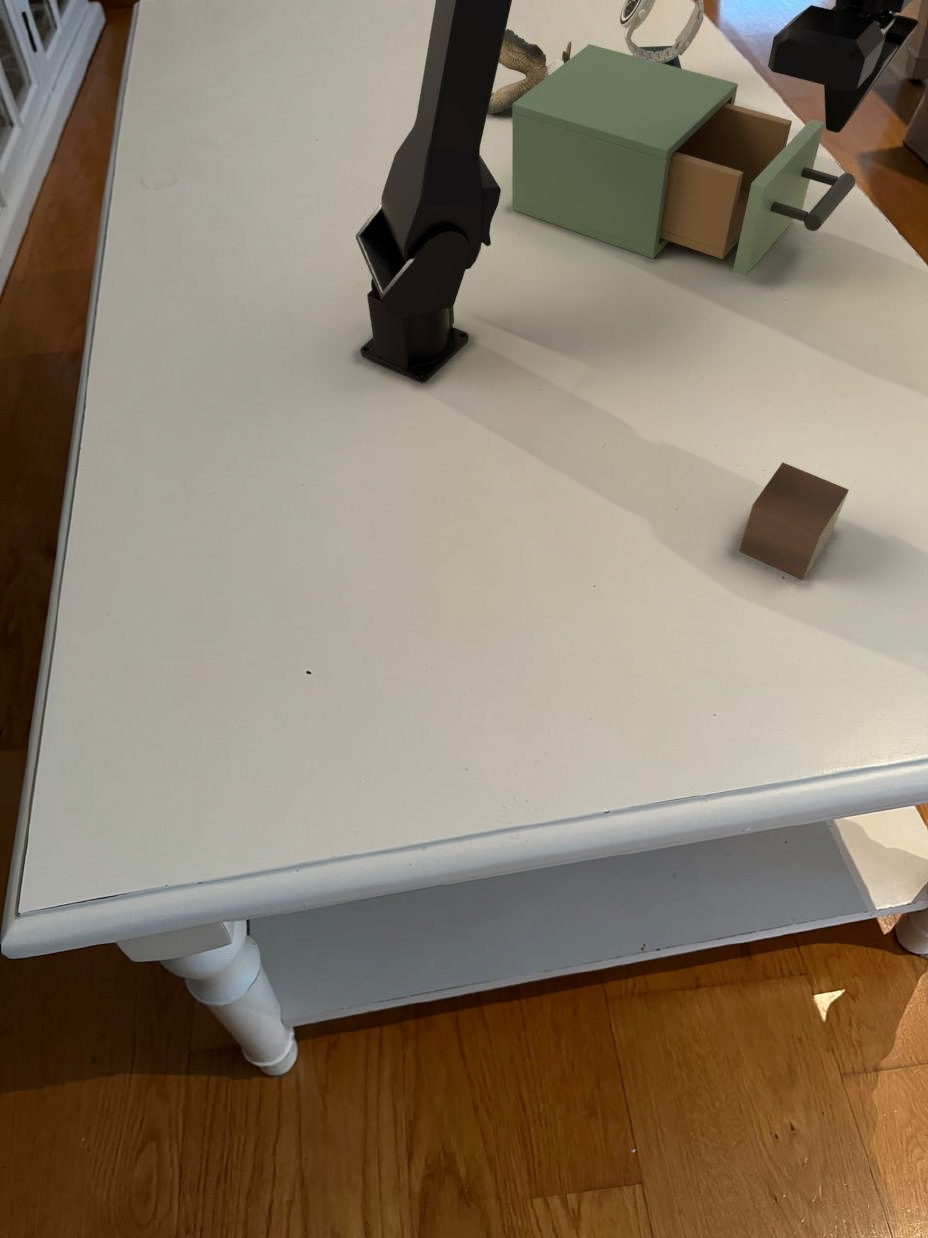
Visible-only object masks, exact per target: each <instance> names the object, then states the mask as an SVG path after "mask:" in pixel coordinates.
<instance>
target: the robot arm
mask: <svg viewBox="0 0 928 1238" xmlns="http://www.w3.org/2000/svg"><path fill="white" fill-rule="evenodd" d="M912 1H913V0H835V2H834V4H835V5H834V6H833V7H831V8H825V7H821V6H817V5H812V4H811V5H809V6H807V7H806V8H805V9H804V10H802V11H801V12H800V13H798V14H797V15H796V16H794V17H793V18H792V19H791V20H790V21H789V22H788V23H787V24H786V25H784V26H783V27H782V28H781V29H780V30H779V31H778V32H777V33H776V34H775V35H774V36H773V39H772V44H771V48H770V54H769V59H768V62H767V63H768V64H767V67H768V68H769V70H770V71H771V72H772V73H776V74H780V75H784V76H786V77H787V76H788V77H791V78H794V79H795V78H796V79H799V80H803V81H806V82H811V83H815V84H819V85H823V90H824V91H823V92H824V117H825V121H824V123H825V129H826V131H828V132H832V133H835V134H839V133H841V131H842V130H843V129H845V127H846V125H847V124H848V122H849V121H850V120H851V118H852V117H853V116H854V114H855V113H856V111H857V110H858V109H859V108H860V106H861V105H862V103H863V101H864V100H865V99H866V98H867V96H868V95H869V93H870V92H871V91H872V89H873V88H874V87H875V86H876V84H877V82H879V80H880V78H881V77H882V75H884V73H885V71H886V70H887V69H888V67H889V66H890V64H891V63H892V62H893V60H894V59H895V58H896V57H897V55H898V53H899V52H900V51H901V49H902V48H903V46H905V44H906V43H907V41H908V40H909V38H910V37H911V36H912V35H913V33H914V32H915V31H916V29H917V28H918V26H919V23H920V22H919V21H918V19H917V18H913V17H909V16H904V15H901V13H902V12H903V11H904V10H905V9H906V8H907V7H908V6H909V5H910V3H911V2H912ZM512 3H513V0H435V3H434V10H433V16H432V20H431V21H432V22H431V28H430V34H429V40H428V44H427V51H426V57H425V63H424V70H423V75H422V82H421V87H420V94H419V100H418V104H417V105H418V106H417V111H416V117H415V119H414V120H415V121H414V124H413V126H412V128H411V130H410V131H409V133H408V134H407V136H406V137H405V139H404V140H403V142H402V143H401V145H400V146H399V148H398V149H397V150H396V152H395V154H394V157H393V160H392V163H391V166H390V168H389V172H388V175H387V178H386V181H385V184H384V187H383V190H382V194H381V199H380V201H381V202H380V203H379V204H378V206H377V207H376V208H375V209H374V210H373V212H372V213H371V215H370V216H369V217H368V219H366V221H365V223H364V224H363V225H362V226H361V228H360V229H359V230H358V231H357V233H356V234H355V240H356V243H357V245H358V247H359V249H360V251H361V254H362V256H363V259H364V261H365V263H366V266H367V269H368V271H369V273H370V275H371V281H370V287H371V288H370V289H371V291H369V292H367V294H366V298H367V305H368V311H369V312H368V313H369V318H370V326H371V333H372V334H371V335H372V338H371V339H369V340H368V341H367V342H366V343H365V344H364V345H362V346H361V348H360V349H359V350H360V351H359V352H360V356H361V357H362V358H364V359H367V360H368V361H372V362H374V363H375V364H378V365H380V366H382V367H385V368H387V369H389V370H391V371H394V372H396V373H398V374H400V375H402V376H405V377H407V378H410V379H412V380H414V381H416V382H419V383H425V382H427V381H429V379H430V378H432V377H433V376H434V375H435V374H436V372H438V371H439V370H440V369H441V368H443V366H444V365H446V363H448V362H449V360H450V359H452V358H453V357H454V356H455V355H456V354H457V353H458V352H459V351H460V350H461V349H462V348H463V347H464V346H465V345H466V344H468V343H469V341H470V336H469V333H468V332H467V331H464V330H461V329H460V328H456V327H454V324H455V316H454V315H455V312H454V311H455V310H454V306H455V303H456V300H457V297H458V294H459V291H460V288H461V286H462V282H463V279H464V275H465V273H466V270H470V269H472V267H473V266H474V264H475V263H476V262H477V261H478V257H479V254H480V253H481V250H482V244H483V245H485V247H490V246H491V245H492V240H491V234H490V232H491V226H492V221H493V217H494V216H495V213H496V211H497V208H498V206H499V203H500V200H501V199H500V197H501V193H502V189H501V187H500V185H499V184H498V182H497V180H496V179H495V177H494V176H493V173H492V172H491V171H490V169H489V167H488V166H487V163H486V162H485V161H484V159H483V158H482V155H481V154H480V153H481V152H480V151H481V144H482V139H483V135H484V130H485V125H486V122H487V118H488V114H489V112H488V108H489V104H490V99H491V94H492V93H493V89H494V85H495V80H496V76H497V71H498V66H499V63H498V62H499V58H500V53H501V49H502V44H503V40H504V35H505V31H506V30H507V26H508V21H509V16H510V12H511V7H512Z"/></svg>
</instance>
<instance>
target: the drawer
mask: <svg viewBox="0 0 928 1238" xmlns="http://www.w3.org/2000/svg"><path fill="white" fill-rule="evenodd" d="M792 122H793V121H792V120H791V119H787V118H784V117H780V116H776V115H772V114H768V113H765V112H762V111H757V110H754V109H751V108H747V107H743V106H741V105H737V104H734V105H733V104H729V103H725V104H724V105H723V106H722V107H721V108H720V109H719V110H718V111H717V112H716V113H715V114H714V115H713V116H712V117H711V118H709V119H708V120H707V121H706V122H705V123H704V124H703V125H702V126H701V127H700V128H699V129H698V130H697V131H696V132H695V133H694V134H693V135H692V136H691V137H690V138H689V139H688V140H686V141H685V142H684V143H683V144H682V145H681V146H680V147H679V148H678V149H677V150H676V151H675V152H674V153H673V154H672V155H671V158H670V166H669V173H668V180H667V187H666V194H665V202H664V209H663V216H662V223H661V231H660V238H662V239H665V240H668V241H669V242H671V243H674V244H677V245H680V246H683V247H686V248H688V249H692V250H694V251H697V252H700V253H704V254H706V255H709V256H712V257H715V258H718V259H721V260H723V259H725V257H726V256H727V255H728V254H729V253H730V251H731V250H732V249H733V248H734V247H735V246H736V245H737V243H738V245H737V249H736V250H737V251H736V253H735V258H734V265H733V267H732V268H733V269H732V272H733V273H736V274H739V275H741V276H744V277H746V276H747V275H748V274H749V272H751V270H752V269H753V268H754V267H755V266H756V265H757V263H759V261H760V260H761V259H762V258H763V256H764V255H766V253H767V251H769V249H770V248H771V247H772V246H773V245H774V244H775V242H776V241H777V240H778V239H779V238H780V236H781V235H782V234H783V233H784V232H785V230H786V229H787V228H789V226H790V225H791V224H792V223H793V221H795V220H797V221H800V222H802V223H803V225H804V227H805V228H806V229H807V230H808V231H811V232H816V231H819V229H820V228H821V227H822V226H823V224H824V223H826V221H827V220H828V218H829V217H830V216H831V215H832V214H833V212H834V211H835V210H836V209H837V208H838V206H839V205H840V204H841V202H843V201H844V199H845V198H846V197H847V195H848V194H849V193H850V192H851V191H852V189H853V188H854V187H855V186H856V178H855V176H854V175H853V174H852V173H851V172H844V173H842V174H840V175H839V176H838V175H833V174H830V173H828V172H823V171H820V170H817V169H814V166H815V162H816V159H817V155H818V150H819V147H820V143H821V140H822V136H823V131H824V127H825V125H826V122H825V121H820V120H817V119H814V118H811V119H810V120H809V121H808V122H807V123H806V124H805V125H804V126H803V128H801V130H800V131H799V132H798V133H797V134H796V135H795V136H794V137H793V138H792V139H791V140H790V141H789V143H788V140H789V136H790V131H791V127H792ZM810 181H814V182H816V183H817V182H818V183H821V184H824V185H828V186H830V187H829V189H827V191H826V192H825V193H824V195H822V197H821V198H820V199H819V200H818V202H817V203H816V204H815V205H814V206H813V208H812V209H811V210H810V211H806V210H803V208H804V203H805V199H806V196H807V192H808V189H809V185H810Z"/></svg>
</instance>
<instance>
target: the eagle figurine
mask: <svg viewBox="0 0 928 1238" xmlns="http://www.w3.org/2000/svg"><path fill="white" fill-rule="evenodd" d="M571 51H572V41H568V43H567V46H566V49H565V50H563V51H562V52H561V54H562V55H561V57H557V58H556V59H555V60H553V62H551V63H550V64H549V65H548V66H547V65H546V64H547V55H546V54H545V53H544V51H543V50H542V48H541V47H539V45H538V44H537V43H534V44H533V43H529V42H528V41H525V39H524V38H522V37H519V35H518V34H515V31H513V29H509V28H506V31H505V35H504V40H503V44H502V49H501V53H500V58H499V62H498V64H500V65H502V67H504V68H506V69H508V70H511V71H516V72H518V73H520V74H523V75H524V76H525V77H524V78H523V79H521V80H519V81H516V82H513V83H510V84H507V85H504V86H501V87H500V88H499V89H497V90H496V91H495V92H492V94H491V99H490V104H489V108H488V114H498V113H500V112H503V111H505V110H507V109H511V108H513V103H514V102H516V101H517V100H518V99H519V98H521V97H522V96H523V95H525V94H526V93H527V92H528V91H530V90H531V89H532V88H534V87H535V86H536V85H537V84H539V83H540V82H541V81H543V80H544V79H545V78H546V77H548V76H549V75H550V74H552V73H553V72H554V71H555V70H557V69H558V68H559V67H561V66H562V65H563V64H564V63H566V62H567V61H568V60H569V59H571Z"/></svg>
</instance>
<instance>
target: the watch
mask: <svg viewBox="0 0 928 1238" xmlns="http://www.w3.org/2000/svg"><path fill="white" fill-rule="evenodd" d="M655 3H656V0H625V1H624V3H623V6H622V9H621V12H620V17H619V24H620V26H622V32H623V36H624V40H625V44H626V46H627V48H628V50H629V52H630V53H631V55H632V56H636V57H639V58H643V59H647V60H651V61H655V62H658V63H662V64H666V65H670V66H673V67H677V68H681V69H683V67H682V64H681V61H680V57H679V56H683V55H684V53H685V52H686V51H687V50H688V48H689V47H690V45H691V44H692V43H693V41H694V39H695V38H696V36H697V34H698V33H699V31H700V28H701V26H702V24H703V22H704V11H705V4H704V0H697V1H695V4H694V8H693V10H692V11H691V14H690V15H689V18H688V20H687V22H686V24H685V26H683V29H682V30H681V32H679V34H678V35H677V37H676V38H675V43H674V44H672V45H656V46H654V45H653V46H638V45H637V44H636V43H635V42H633V41H632V36H633V34H634V32H635V30H637V29H638V28H639V27H640V26H641V25H642V24H644V22H645V21H646V19H647V18H648V16H649V15H650V13H651V11H652V9H653V7H654V5H655Z"/></svg>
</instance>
